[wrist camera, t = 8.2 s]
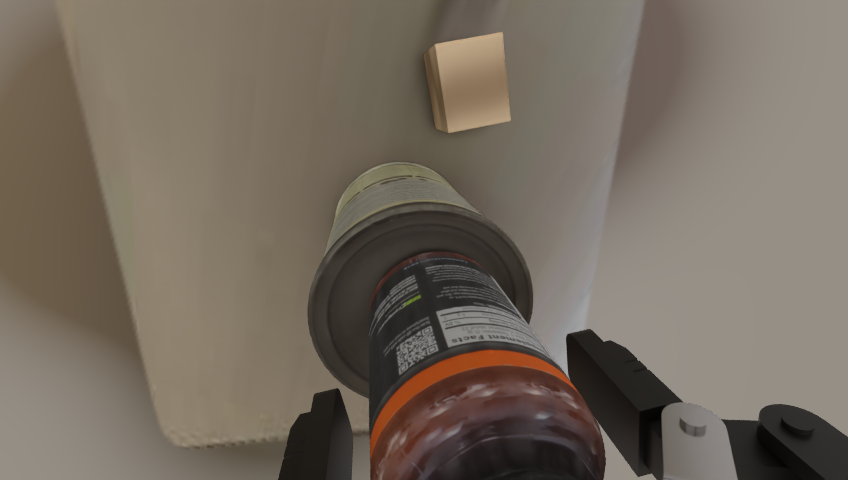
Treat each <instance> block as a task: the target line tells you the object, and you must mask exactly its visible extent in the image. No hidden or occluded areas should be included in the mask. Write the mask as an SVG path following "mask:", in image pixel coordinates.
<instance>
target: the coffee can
mask: <svg viewBox="0 0 848 480" xmlns="http://www.w3.org/2000/svg"><path fill="white" fill-rule="evenodd" d="M434 251H443V252H452V253H457V254H461V255H463V256H466V257H468V258H471V259H472V260H474V261H476V262H477V263H479V264H480V265H481V266H483V267H484V268H485V270H486V271H487V272H489V274H490V275H491V276H492V277H493V278H494V280H495V281H496V282H497V283H498V285H499V286H500V287H501V289H502V290H503V291H504V293H505V294H506V296H507V297H508V298H509V300H510V301H511V302H512V304H513V305H514V306H515V307H516V309H517V310H518V311H519V313H520V314H521V315H522V317H523V318H524V319H525V321H526V322H527V324H528V325H529V322H530V319H531V315H532V308H533V289H532V282H531V277H530V273H529V270H528V267H527V265H526V262H525V260H524V258H523V256H522V254H521V252H520V251H519V249H518V248H517V247H516V245H515V244H514V242H513V241H512V240H511V239H510V238H509V237H508V236H507V235H506V234H505V233H504V232H503V231H502V230H501V229H500V228H499V227H497V226H496V225H495V224H494V223H492V222H491V221H490V220H488V219H486V218H485V217H483V216H482V215H481V214H480V213H479V212H478V211H477V210H476V209H475V208H474V207H473V206H471V205H470V204H469V203H468V202H467V201H466V200H465V199H464V198H463V197H462V196H461V195H460V194H459V193H458V192H456V191H455V190H454V189H453V188H452V187H451V185H450V184H449V183H448V182H447V181H446V180H445V179H444V178H443V177H442V176H441V175H439V174H438V173H436V172H435V171H433V170H431V169H429V168H427V167H425V166H422V165H419V164H415V163H409V162H392V163H386V164H382V165H379V166H376V167H374V168H371V169H369V170H368V171H366V172H364V173H363V174H361V175H360V176H359V177H357V178H356V179H355V180H354V181H353V182H352V183H351V184H350V185H349V186H348V188H347V189H346V191H345V192H344V193H343V195H342V197H341V199H340V201H339V203H338V206H337V209H336V213H335V220H334V223H333V226H332V230H331V234H330V237H329V240H328V244H327V247H326V250H325V254H324V257H323V260H322V262H321V264H320V266H319V268H318V270H317V272H316V275H315V277H314V280H313V283H312V286H311V289H310V294H309V301H308V325H309V330H310V335H311V337H312V341H313V345H314V347H315V349H316V351H317V354H318V356H319V357H320V359H321V360H322V362H323V364H324V365H325V367H326V368H327V369H328V370H329V371H330V373H331V374H332V375H333V376H334V377H335V378H336V379H337V380H338V381H340V382H341V383H342V384H343V385H345V386H346V387H348V388H349V389H351V390H352V391H354V392H356V393H358V394H360V395H362V396H364V397H366V398H368V399H369V350H368V348H369V345H368V314H369V306H370V302H371V299H372V296H373V293H374V291H375V289H376V287H377V285H378V284H379V283H380V281H381V280H382V278H383V277H384V276H385V275H386V274H387V273H388V272H389V271H390V270H391V269H392V268H393V267H395V266H396V265H398V264H399V263H400V262H402V261H404V260H406V259H408V258H411V257H413V256H416V255H418V254H421V253H426V252H434Z"/></svg>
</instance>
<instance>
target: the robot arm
mask: <svg viewBox="0 0 848 480" xmlns="http://www.w3.org/2000/svg"><path fill="white" fill-rule="evenodd" d="M566 344H567V362H568V374H569V378H570V381H571V383H572V384H573V385H574V387H575V388H576V389H577V391H578V392H579V394H580V395H581V396H582V398H583V399H584V401H585V402H586V404H587V406H588V407H589V409H590V410H591V412H592V414H593V415H594V417H595V419H596V420H597V421H598V423H599V424H600V425H601V427H602V428H603V430H604V431H605V432H606V434H607V435H608V436H609V438H610V439H611V441H612V442H613V443H614V445H615V446H616V447H617V449H618V450H619V452H620V453H621V454H622V456H623V457H624V458H625V460H626V461H627V463H628V464H629V465H630V467H631V468H632V470H633V471H634V472H635V473H636V475H637V476H638V477H640V476H643V475H647V474H651V473H652V474H653V475H654V477H655V478H656V479H657V480H848V437H847V436H846V435H844V434H843V433H841V432H840V431H838V430H837V429H836V428H834V427H833V426H831V425H830V424H829V423H828V422H826V421H825V420H823V419H822V418H820V417H819V416H817V415H815V414H813V413H811V412H809V411H806V410H804V409H801V408H798V407H794V406H790V405H783V404H774V405H769V406H766V407H764V408H763V409H762V410H761V411H760V413H759V419H758V421H749V420H723V419H720V418H719V417H718V416H717V415H716V414H714V413H713V412H712V411H710V410H708V409H706V408H704V407H701V406H699V405H695V404H692V403H684V402H683V401H682V400H680V399H679V398H678V397H677V396H676V395H675V394H674V393H673V392H672V391H671V390H670V389H669V388H668V387H667V386H666V385H665V384H664V383H662V382H661V381H660V380H659V379H658V378H657V377H656V376H655V375H654V374H653V373H652V372H651V371H650V370H647V368H646V367H645V366H644V365H643V364H642V363H641V362H640V361H638V360H637V358H636V357H635V356H634V355H633V354H632V353H631V352H630V351H629V350H627V349H626V348H624V347H623V346H621V345H619V344H617V343H615V342H613V341H606V342H603V341H602V340H601V339H600V338H599V337H598V336H597V335H596V334H595V333H594V332H593V331H592V330H591V329H587V330H583V331H579V332H575V333H570V334H568V335H567V337H566ZM352 453H353V436H352V429H351V425H350V421H349V418H348V415H347V412H346V409H345V405H344V402H343V399H342V396H341V393H340V390H339V389H338V388H336V389H332V390H328V391H324V392H320V393H316V394H314V397H313V402H312V408H311V412H308V413H304V414H300V415H299V417H298V418H297V420H296V421H295V423H294V424H293V426H292V427H291V429H290V433H289V437H288V441H287V447H286V450H285V453H284V459H283V462H282V466H281V471H280V474H279V478H278V480H351V478H352V455H353V454H352Z"/></svg>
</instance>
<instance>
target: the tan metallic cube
mask: <svg viewBox="0 0 848 480" xmlns="http://www.w3.org/2000/svg"><path fill="white" fill-rule="evenodd" d="M424 61H425V68H426V74H427V80H428V86H429V92H430V99H431V105H432V111H433V117H434V123H435V129H438V130H441V131H444V132H447V133H451V132H457V131H462V130H467V129H472V128H477V127H482V126H487V125H492V124H497V123H502V122H507V121H511V117H510V107H509V96H508V86H507V75H506V64H505V54H504V43H503V33H502V32H499V33H494V34H488V35H483V36H477V37H472V38H466V39H461V40H455V41H450V42H444V43H438V44H435V45H434V46H432V47H431V48H430V49H429V50H428V51H427V52H426V53H425V54H424Z"/></svg>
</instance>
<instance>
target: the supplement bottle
mask: <svg viewBox="0 0 848 480" xmlns="http://www.w3.org/2000/svg"><path fill="white" fill-rule="evenodd" d="M368 345H369V348H368V350H369V418H370V419H369V430H370V464H371V470H370V477H371V480H603V478H604V472H605V465H606V458H605V449H604V443H603V439H602V435H601V432H600V428H599V425H598V423H597V421H596V419H595V418H594V415H593V414H592V412H591V410H590V409H589V407H588V406H587V404H586V402H585V401H584V399H583V398H582V396H581V395H580V394H579V392H578V391H577V389H576V388H575V387H574V385H573V384H572V383H571V382H570V380H569V379H568V377H567V376H566V374H565V373H564V371H563V370H562V369H561V368H560V366H559V365H558V364H557V362H556V361H555V360H554V358H553V357H552V356H551V354H550V353H549V352H548V350H547V349H546V348H545V346H544V345H543V344H542V342H541V341H540V339H539V338H538V337H537V336H536V334H535V333H534V332H533V330H532V329H531V328H530V326H529V325H528V324H527V322H526V321H525V319H524V318H523V317H522V315H521V314H520V313H519V311H518V310H517V309H516V307H515V306H514V305H513V304H512V302H511V301H510V300H509V298H508V297H507V296H506V294H505V293H504V291H503V290H502V289H501V287H500V286H499V285H498V283H497V282H496V281H495V280H494V278H493V277H492V276H491V275H490V274H489V272H487V271H486V270H485V268H484V267H483V266H481V265H480V264H479V263H477V262H476V261H474V260H472V259H471V258H468V257H466V256H463V255H461V254H457V253H452V252H443V251H434V252H426V253H421V254H418V255H416V256H413V257H411V258H408V259H406V260H404V261H402V262H400V263H399V264H398V265H396V266H395V267H393V268H392V269H391V270H390V271H389V272H388V273H387V274H386V275H385V276H384V277H383V278H382V280H381V281H380V283H379V284H378V285H377V287H376V289H375V291H374V293H373V296H372V299H371V302H370V306H369V314H368Z"/></svg>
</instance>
